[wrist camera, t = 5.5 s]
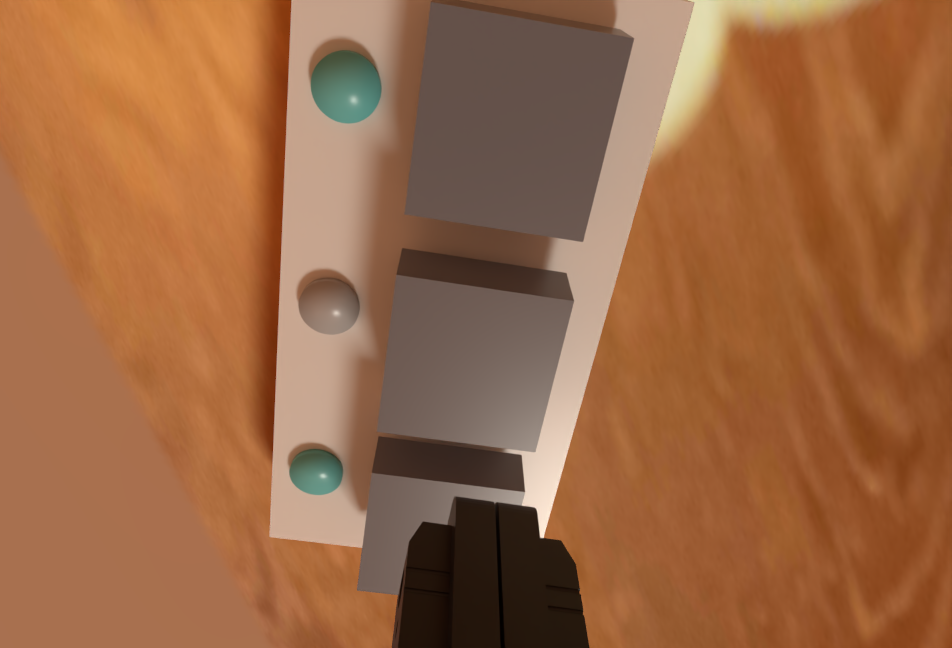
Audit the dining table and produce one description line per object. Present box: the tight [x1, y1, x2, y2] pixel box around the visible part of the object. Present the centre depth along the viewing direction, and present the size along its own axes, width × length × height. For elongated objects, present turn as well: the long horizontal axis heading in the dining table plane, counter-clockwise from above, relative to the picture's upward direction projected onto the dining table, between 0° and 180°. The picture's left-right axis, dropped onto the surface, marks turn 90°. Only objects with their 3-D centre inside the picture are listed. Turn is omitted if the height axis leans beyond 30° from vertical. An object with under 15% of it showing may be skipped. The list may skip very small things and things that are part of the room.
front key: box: [404, 0, 634, 242], centre depth 20 cm, size 6×5×2 cm
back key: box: [357, 436, 525, 595], centre depth 26 cm, size 6×5×2 cm
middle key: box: [377, 248, 574, 452], centre depth 23 cm, size 6×5×2 cm
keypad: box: [270, 0, 694, 548], centre depth 26 cm, size 22×11×3 cm, turn 171°
